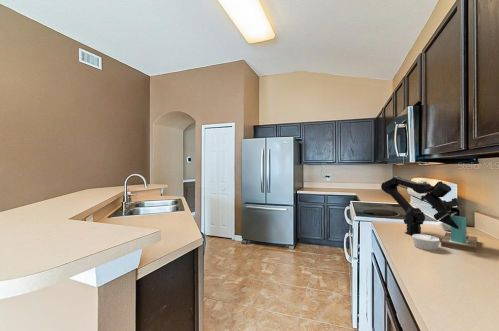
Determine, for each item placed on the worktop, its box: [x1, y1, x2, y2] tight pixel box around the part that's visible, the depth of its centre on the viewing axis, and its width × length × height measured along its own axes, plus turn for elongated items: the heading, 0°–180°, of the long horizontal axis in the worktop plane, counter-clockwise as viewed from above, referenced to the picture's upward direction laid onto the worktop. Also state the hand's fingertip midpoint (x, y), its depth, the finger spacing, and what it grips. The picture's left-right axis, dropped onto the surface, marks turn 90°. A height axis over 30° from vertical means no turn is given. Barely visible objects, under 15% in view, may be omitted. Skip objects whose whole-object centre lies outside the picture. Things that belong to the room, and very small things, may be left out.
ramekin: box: [411, 233, 441, 252], centre depth 120 cm, size 11×11×5 cm
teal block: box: [450, 215, 467, 243], centre depth 121 cm, size 4×4×12 cm
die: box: [439, 221, 451, 232], centre depth 150 cm, size 8×9×10 cm
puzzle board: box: [440, 231, 478, 253], centre depth 125 cm, size 22×13×3 cm, turn 135°
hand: (462, 227), depth 120 cm, fingers open, 9 cm apart
